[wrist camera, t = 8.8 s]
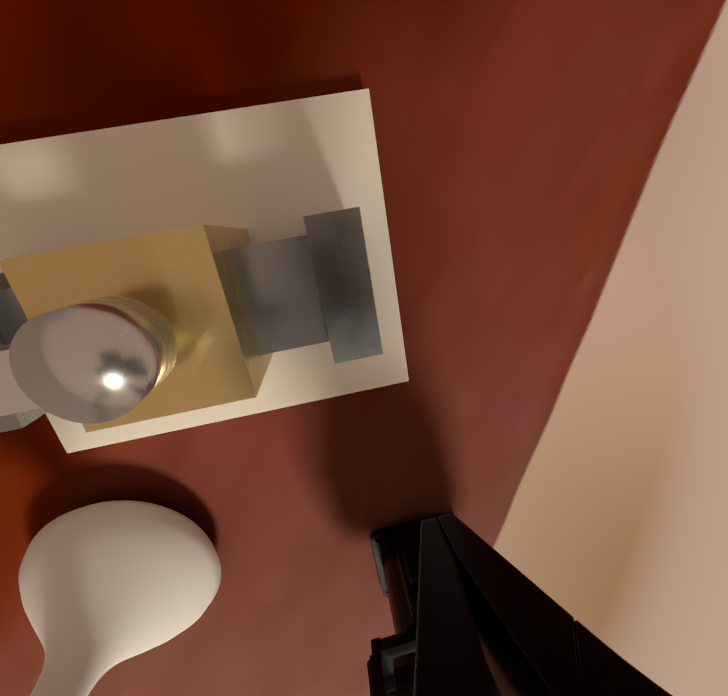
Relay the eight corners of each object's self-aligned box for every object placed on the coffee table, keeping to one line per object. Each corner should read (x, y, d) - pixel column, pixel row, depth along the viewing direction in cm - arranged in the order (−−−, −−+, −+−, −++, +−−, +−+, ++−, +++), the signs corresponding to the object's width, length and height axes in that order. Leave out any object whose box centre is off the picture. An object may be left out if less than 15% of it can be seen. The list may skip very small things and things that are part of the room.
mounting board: (405, 374, 21) (409, 380, 21) (78, 443, 20) (67, 453, 19) (365, 96, 17) (368, 88, 16) (-70, 163, 15) (-95, 159, 14)
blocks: (365, 324, 19) (389, 369, 13) (71, 382, 18) (-64, 464, 12) (346, 211, 17) (362, 196, 11) (14, 269, 16) (-187, 292, 10)
